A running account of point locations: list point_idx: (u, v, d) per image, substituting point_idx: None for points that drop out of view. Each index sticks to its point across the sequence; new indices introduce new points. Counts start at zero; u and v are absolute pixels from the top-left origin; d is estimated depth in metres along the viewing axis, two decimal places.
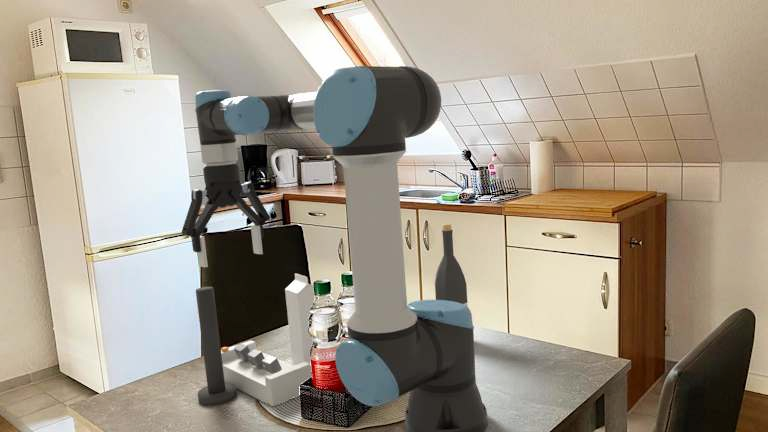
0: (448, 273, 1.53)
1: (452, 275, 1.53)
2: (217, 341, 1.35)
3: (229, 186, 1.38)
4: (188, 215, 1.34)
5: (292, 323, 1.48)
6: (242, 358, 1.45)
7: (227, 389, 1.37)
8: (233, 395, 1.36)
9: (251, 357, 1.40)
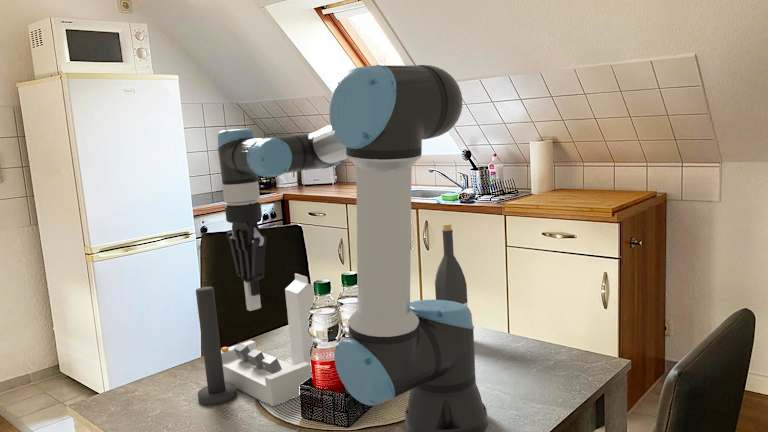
0: (449, 273, 1.53)
1: (452, 275, 1.53)
2: (217, 341, 1.35)
3: None
4: None
5: (292, 323, 1.48)
6: (242, 358, 1.45)
7: (227, 389, 1.37)
8: (233, 395, 1.36)
9: (251, 357, 1.40)
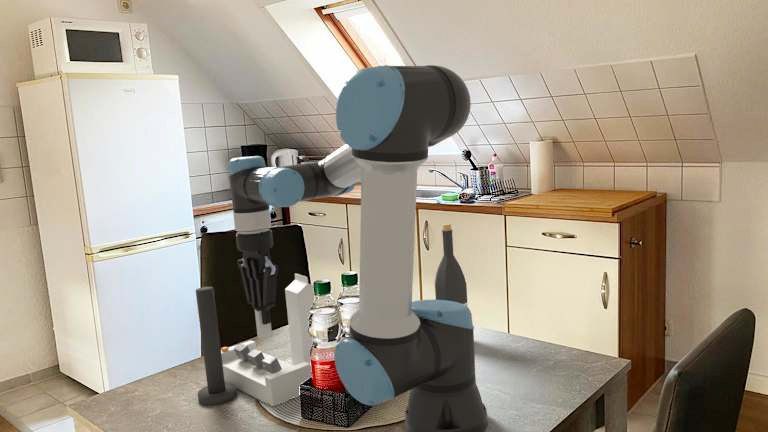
0: (448, 273, 1.53)
1: (452, 275, 1.53)
2: (217, 341, 1.35)
3: None
4: None
5: (292, 323, 1.48)
6: (242, 358, 1.45)
7: (227, 389, 1.37)
8: (233, 395, 1.36)
9: (251, 357, 1.40)
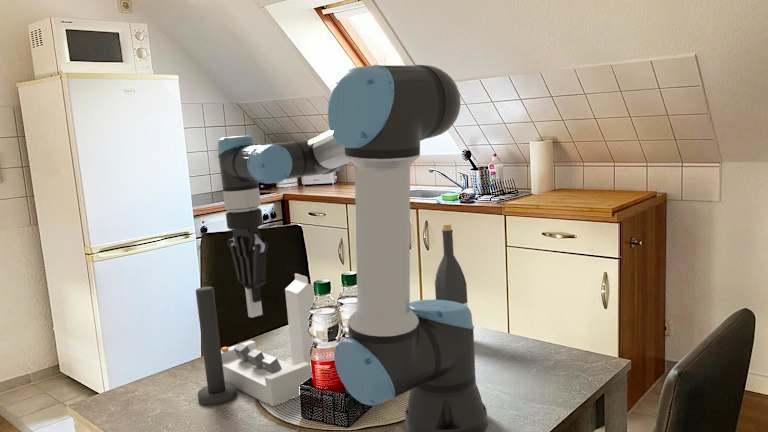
0: (448, 273, 1.53)
1: (452, 275, 1.53)
2: (217, 341, 1.35)
3: None
4: None
5: (292, 323, 1.48)
6: (242, 358, 1.45)
7: (227, 389, 1.37)
8: (233, 395, 1.36)
9: (251, 357, 1.40)
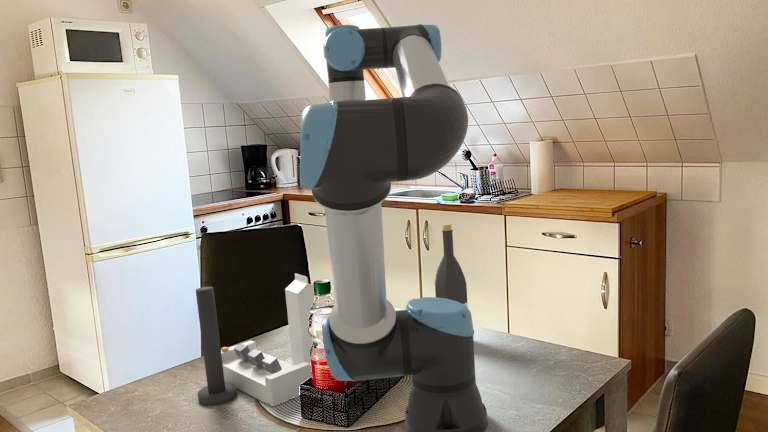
0: (448, 273, 1.53)
1: (452, 275, 1.53)
2: (217, 341, 1.35)
3: None
4: None
5: (292, 323, 1.48)
6: (242, 358, 1.45)
7: (227, 389, 1.37)
8: (233, 395, 1.36)
9: (251, 357, 1.40)
